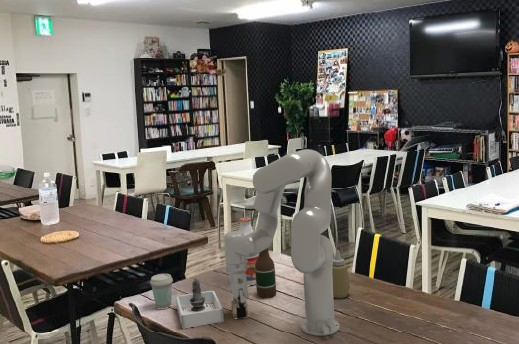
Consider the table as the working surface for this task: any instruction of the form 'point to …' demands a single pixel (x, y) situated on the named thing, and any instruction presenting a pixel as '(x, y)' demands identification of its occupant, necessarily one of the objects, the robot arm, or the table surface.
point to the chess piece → (197, 297)
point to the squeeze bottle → (340, 277)
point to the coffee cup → (162, 290)
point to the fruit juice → (250, 273)
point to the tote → (200, 317)
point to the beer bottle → (265, 275)
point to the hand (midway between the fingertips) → (239, 314)
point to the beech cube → (234, 310)
